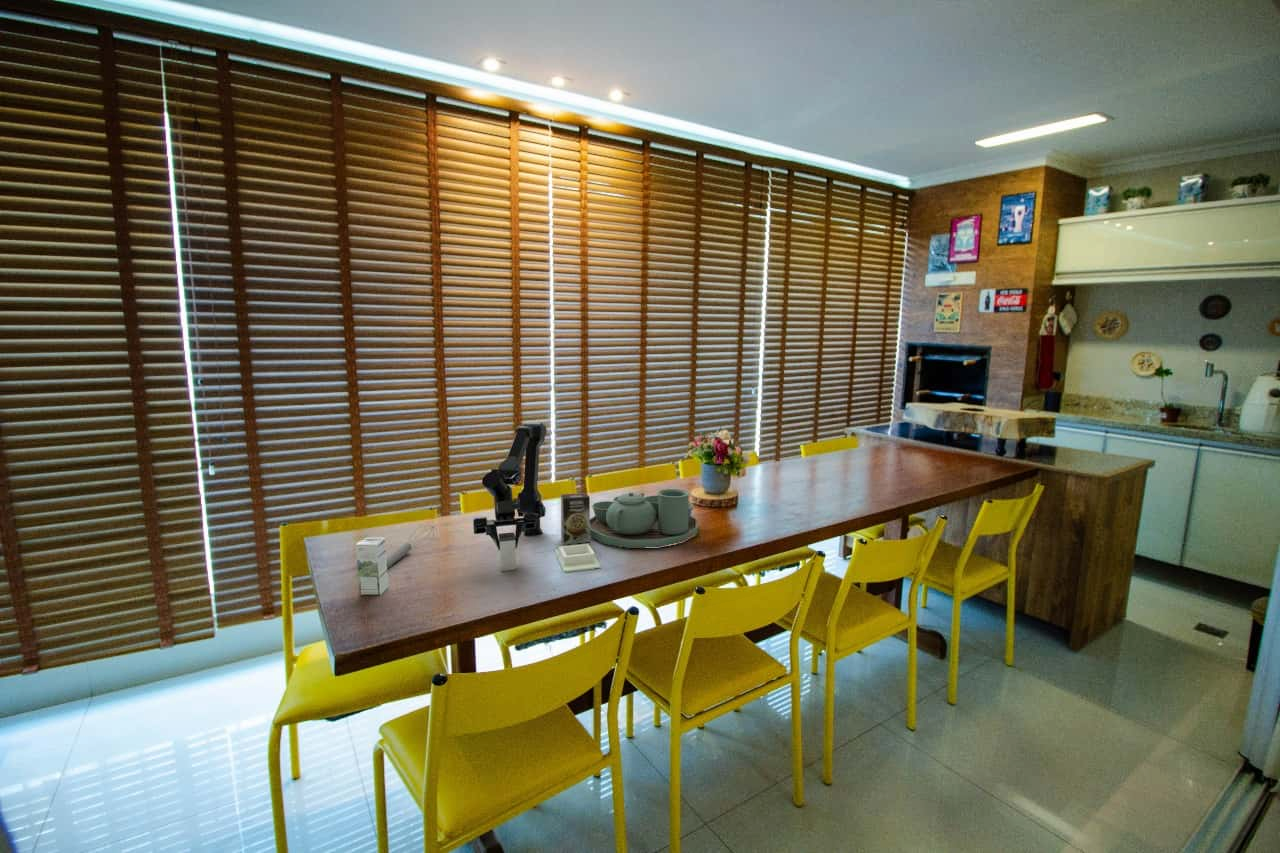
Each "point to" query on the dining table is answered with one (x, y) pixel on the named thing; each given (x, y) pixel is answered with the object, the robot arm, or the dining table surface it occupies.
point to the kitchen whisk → (404, 549)
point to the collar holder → (577, 558)
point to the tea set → (644, 519)
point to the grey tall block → (507, 551)
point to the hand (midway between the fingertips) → (507, 548)
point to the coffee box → (575, 518)
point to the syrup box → (372, 566)
